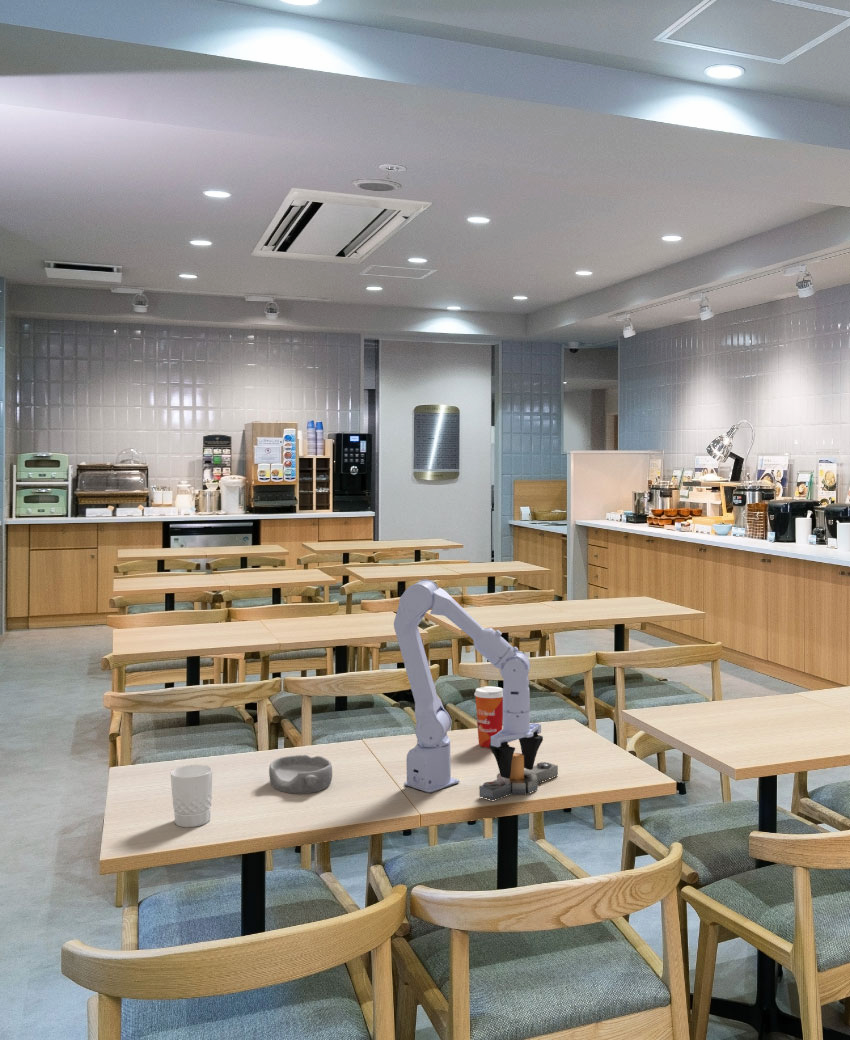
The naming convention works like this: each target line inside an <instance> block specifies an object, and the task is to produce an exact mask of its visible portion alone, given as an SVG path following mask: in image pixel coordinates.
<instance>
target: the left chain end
mask: <svg viewBox="0 0 850 1040" xmlns="http://www.w3.org/2000/svg"><path fill="white" fill-rule="evenodd" d="M508 782H509V781H505V780H502V779H498V780H497V779H495V780H492V781H486V782H484V783H483V784H482V785H479V788H478V790H479V794H478V796H479V798H480V797H483V798H487V799H490V800H495V799H498V798H501V797H503V798H505V797H504V796H506V795H509V794H511V795H526V794H527V793H529V794H531V793H530V792H532V791H534V792H536V791H535V790H538V784H537V785H535V786H533V787H530V788H526V789H512V782H509V783H508ZM525 793H526V794H525ZM532 793H533V792H532ZM509 796H510V795H509ZM506 797H507V796H506ZM501 799H502V798H501ZM498 800H499V799H498Z"/></svg>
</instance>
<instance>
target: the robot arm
mask: <svg viewBox="0 0 850 1040" xmlns="http://www.w3.org/2000/svg"><path fill="white" fill-rule="evenodd" d="M429 611H430V612H429ZM427 612H429V615H435V616H444V617H446V618H447V619H448V620H450V621H451V622H452V624H454V625H456V627H457V628H458V629H460V630H461V631H462V632H464V633H465V634H466V635H468V636H469V637H470V638H471V639H472V640H473V648H474V650H476V651H477V652H478V653H479V654H480V655H481V656H483V658H485V659H486V660H487V661H488V662H489V663H490V664H491V665H492V666H494V668H496V669H499V670H500V671H499V672H500V675H501V677H502V679H503V680H502V681H503V688H502V689H503V724H502V730H501V731H500V732H498V733H497V734H495V735H493V736H491V743H490V748H489V749H490V751H491V753H492V754H493V755H494V756H493V757H494V759H495V760H496V761H495V762H496V763H497V767H498V770H499V771H498V772H499V773H500V775H501V777H504V778H510V775H511V763H512V757H513V753H515V750H516V747H514V746H510V744H509V743H511V742H514V741H517V740H518V741H519V745H520V749H521V751H520V752H521V754H523V755H524V770H525V769H529V770H532V769H533V766H535V762H536V757H537V754H538V751H539V749H540V746H541V744H542V743H543V741H544V736H543V735H540V734H541V733H542V724H540V723H535V722H533V723H531V722H530V721H531V719H530V718H531V714H530V712H531V709H530V707H531V706H530V705H531V704H530V703H531V702H530V701H531V700H530V699H531V698H530V694H531V693H530V687H529V686H530V680H529V673H530V671H531V662H530V659H529V657H527V655H526V653H525V652H523V651H520V650H519V648H518V647H517V646H514V647H513V646H512V645H511V644H510V643H509V642H508V641H507V640H506V639H505V638H504V637H502V634H503V633H502V631H500V630H499V629H497V630H495V629H493V627H486V628H485V627H484V626H483V627H482V625H481V624H480V623H479V622H478V621H476V619H475V618H473V617H472V615H471V614H470V613H468V611H466V609H464V608H463V607H462V606H461V605H460V603H458V602H457V601H456V600H455V598H453V597H452V596H451V595H450V594H449V593H448V592H447V591H446V590H445V589H444V588H442V587H438V585H437V584H436V583H435V582H434V581H433V580H429V579H421V580H419V581H417V582H416V583H414V584H411V585H409V586H408V587H407V588H406V589H405V590H404V591H403V594H402V595H401V596H400V597H399V602H398V606H397V610H396V614H395V617H394V621H393V629H394V632H395V635H396V639H397V643H398V645H399V649H400V653H401V657H402V661H403V664H404V668H405V671H406V675H407V678H408V682H409V685H410V690H411V693H412V696H413V699H414V700H413V701H414V717H415V721H416V722H415V724H416V725H415V728H414V730H415V732H414V733H415V737H416V745H415V746H414V747H413V748H411V749H410V750H408V752H407V754H406V781H404V784H403V785H404V786H408V787H411V788H414V789H415V790H416V789H417V790H420V791H423V792H424V793H425V792H426V793H433V792H436V791H439V790H441V789H442V790H443V789H444V788H447V787H449V786H453V785H456V784H458V783H460V780H459V779H457V778H454V777H452V775H451V773H452V771H451V738H450V737H449V735H448V732H449V730H450V728H451V726H452V718H451V715H450V713H449V712H448V711H447V710H446V709H445V707H444V705H443V702H442V700H441V698H440V697H439V696H438V694H437V690H436V686H435V683H434V679H433V675H432V671H431V669H430V668H431V667H430V666H429V661H428V657H427V655H426V651H425V647H424V644H423V640H422V636H421V633H420V630H419V624H421V622H422V620H423V618H424V617H425V615H426V613H427Z"/></svg>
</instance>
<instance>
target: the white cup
mask: <svg viewBox="0 0 850 1040" xmlns="http://www.w3.org/2000/svg"><path fill="white" fill-rule="evenodd" d="M170 781H171V782H170V783H171V785H170V786H171V796H172V807H173V814H174V823H175V825H176V826H179V827H181V828H195V827H201V826H203V825H206V824H207V823H208V822H210V821H211V809H212V808H211V807H212V797H213V796H212V795H213V789H212V788H213V768H212V767H211V766H209V765H207V764H189V765H188V764H187V765H183V766H179V767H176V768H174V769H172V770H171V771H170Z"/></svg>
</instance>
